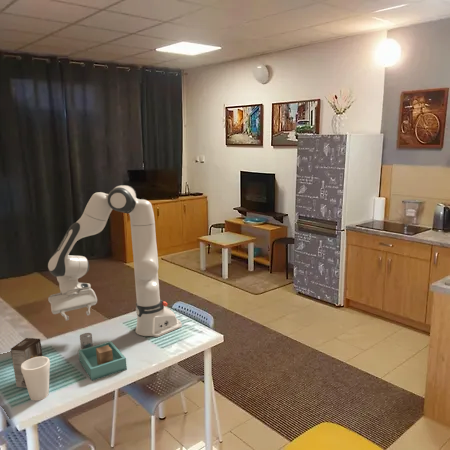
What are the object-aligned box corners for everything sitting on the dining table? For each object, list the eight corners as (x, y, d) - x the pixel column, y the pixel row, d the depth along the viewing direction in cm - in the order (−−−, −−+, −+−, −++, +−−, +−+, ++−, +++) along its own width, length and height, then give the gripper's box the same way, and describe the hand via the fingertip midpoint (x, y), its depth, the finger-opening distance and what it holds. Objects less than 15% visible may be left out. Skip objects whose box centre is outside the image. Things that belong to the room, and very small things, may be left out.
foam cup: (51, 400, 150) (47, 367, 147) (23, 405, 147) (18, 372, 145) (54, 385, 159) (50, 354, 156) (28, 390, 156) (23, 358, 154)
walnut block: (109, 362, 172) (108, 344, 171) (113, 368, 168) (112, 349, 167) (97, 366, 170) (95, 348, 168) (101, 372, 166) (99, 353, 164)
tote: (112, 351, 184) (111, 341, 183) (126, 369, 169) (125, 358, 168) (79, 361, 176) (78, 350, 175) (91, 380, 161) (90, 369, 160)
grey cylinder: (91, 348, 187) (89, 331, 185) (94, 352, 183) (93, 335, 181) (80, 351, 184) (78, 334, 183) (83, 356, 180) (81, 339, 179)
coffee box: (31, 374, 167) (26, 337, 164) (45, 375, 166) (40, 338, 163) (15, 387, 159) (10, 348, 155) (30, 388, 157) (25, 349, 154)
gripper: (47, 292, 188) (54, 320, 182) (93, 283, 199) (101, 308, 193) (46, 298, 193) (53, 326, 187) (91, 289, 204) (99, 314, 197)
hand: (78, 317), depth 190 cm, fingers open, 8 cm apart
